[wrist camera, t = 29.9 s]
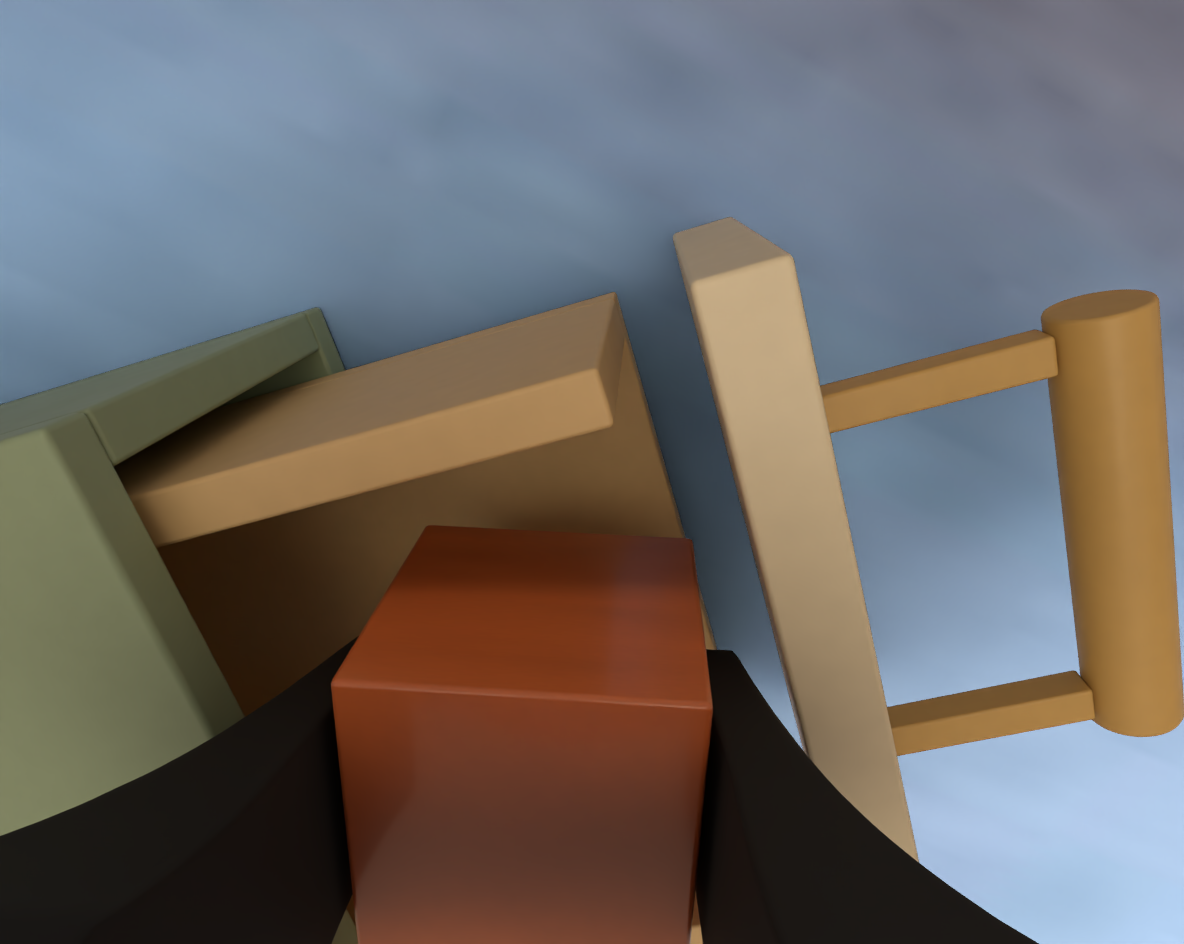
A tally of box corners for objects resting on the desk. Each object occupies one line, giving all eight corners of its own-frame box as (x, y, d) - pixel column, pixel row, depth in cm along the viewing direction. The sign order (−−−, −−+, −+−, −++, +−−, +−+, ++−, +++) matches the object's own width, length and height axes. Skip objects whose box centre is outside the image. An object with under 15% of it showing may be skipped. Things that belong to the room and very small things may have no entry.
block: (425, 522, 13) (326, 681, 9) (693, 536, 13) (713, 706, 9) (436, 740, 15) (356, 958, 11) (676, 755, 15) (686, 984, 11)
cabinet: (320, 305, 17) (42, 427, 9) (508, 766, 21) (425, 1125, 13) (-255, 483, 20) (-865, 699, 12) (11, 866, 24) (-309, 1220, 16)
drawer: (1000, 134, 15) (1272, 113, 8) (1062, 658, 18) (1282, 921, 12) (77, 412, 18) (-240, 552, 11) (290, 812, 21) (139, 1087, 15)
